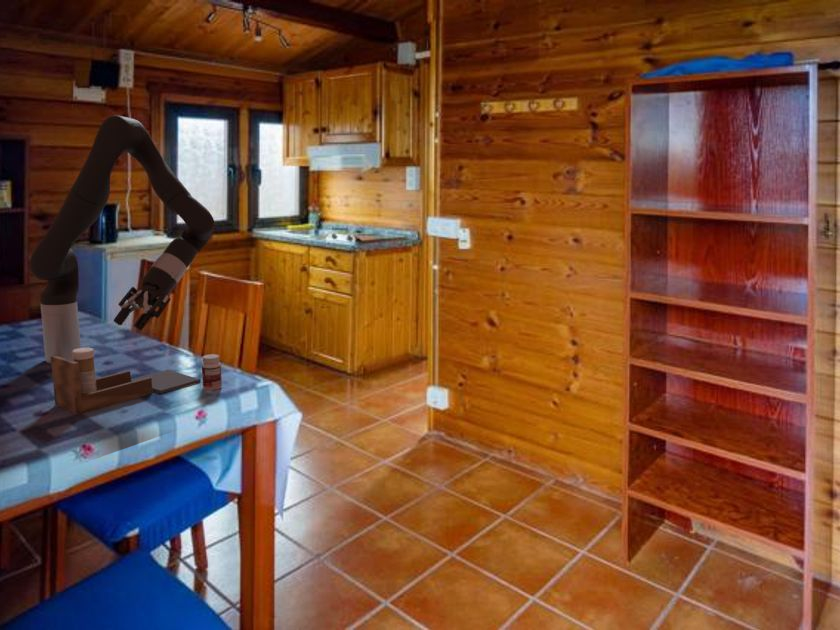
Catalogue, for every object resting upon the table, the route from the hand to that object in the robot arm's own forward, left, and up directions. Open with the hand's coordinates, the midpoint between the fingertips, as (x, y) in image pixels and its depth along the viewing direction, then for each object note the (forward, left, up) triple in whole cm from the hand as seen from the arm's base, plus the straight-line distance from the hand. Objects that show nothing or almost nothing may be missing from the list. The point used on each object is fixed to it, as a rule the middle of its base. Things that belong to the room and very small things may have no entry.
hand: (126, 325), depth 165 cm
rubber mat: (0, +10, -17) cm, 20 cm away
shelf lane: (0, -7, -17) cm, 18 cm away
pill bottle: (+13, +15, -17) cm, 26 cm away
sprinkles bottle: (0, -11, -17) cm, 21 cm away
